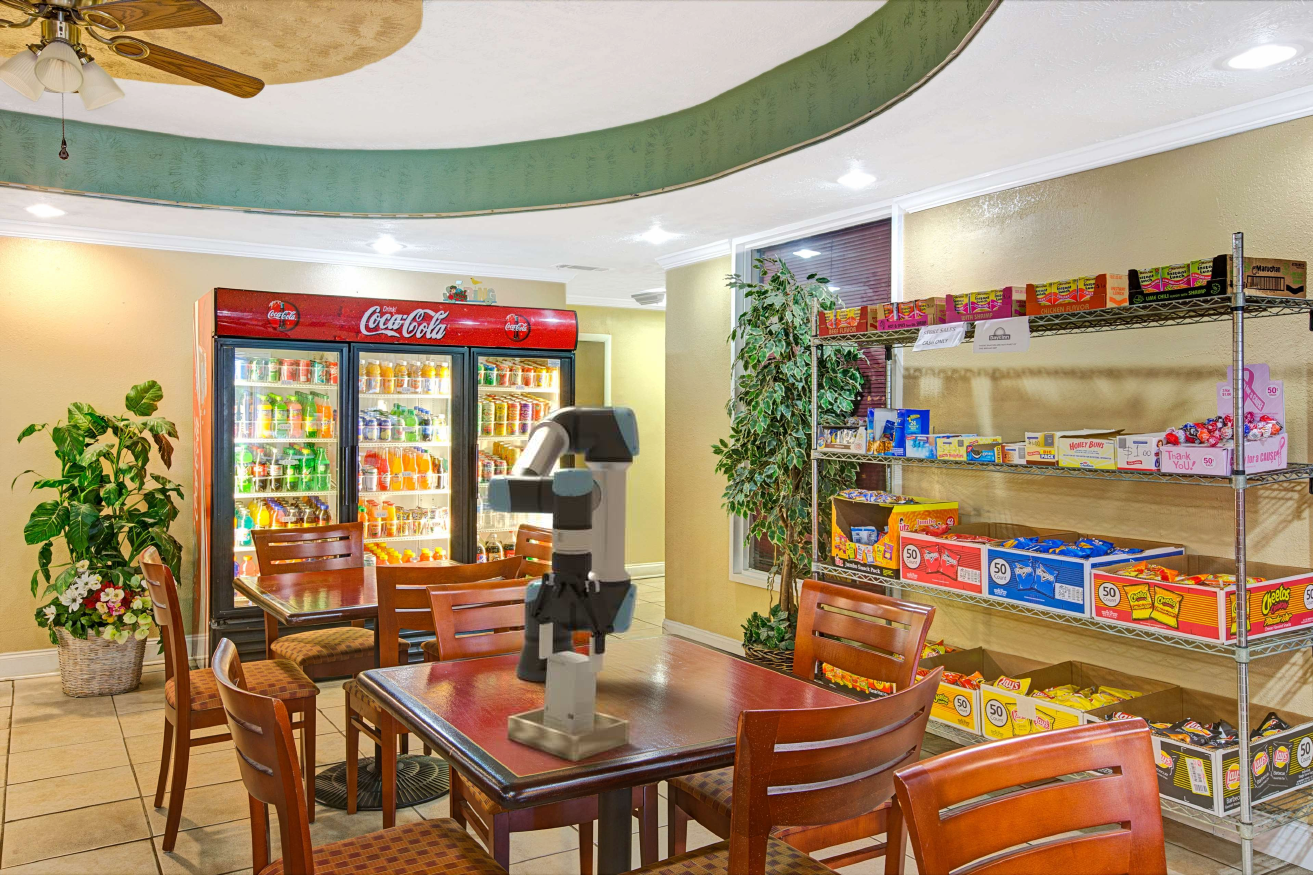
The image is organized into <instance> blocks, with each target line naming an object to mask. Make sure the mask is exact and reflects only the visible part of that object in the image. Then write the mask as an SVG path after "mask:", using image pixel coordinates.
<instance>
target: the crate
mask: <svg viewBox="0 0 1313 875" xmlns="http://www.w3.org/2000/svg"><path fill="white" fill-rule="evenodd" d="M543 720H544V706H542V707H539V708H536V709H532V710H531V709H530V710H528V711H523V712H521V713H517V714H512V715H510V716H508V717H507V739H509V740H512V741H514V742H517V743H520V744H523V745H525V746H529V747H531V748H535V749H537V750H539V751H543V752H545V753H548V754H552V755H555V756H558V757H560V758H562V759H565V760H568V761H571V762H573V763H574V762H577V761H580V760H583V759H586V758H590V757H592V756H595V755H597V754H601V753H604V752H607V751H610V750H612V749H615V748H618V747H621V746H624V745H627V744H630V720H626V719H623V718H619V717H616V716H613V715H611V714H610V715H609V714H606V713H603V712H599V711H596V710H595V713H594V730H592V731H589V732H586V733H583V734H580V735H576V736H573V735H570V734H567V733H564V732H561V731H558V730H555V729H552V728H549V727H546V726H543Z"/></svg>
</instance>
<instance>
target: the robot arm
mask: <svg viewBox="0 0 1313 875" xmlns="http://www.w3.org/2000/svg"><path fill="white" fill-rule="evenodd" d="M527 439H528V442H527V444H526V446H525V447H524V449H523V451H522V452H521V454H520V455H519V457H518V459H517V460H516V462H515V464H514V465H513V467H512V468H511V470H510V472H509V473H508V474H506V473H503V474H495V475H492V476H491V478H490V479H489V483H488V486H487V502H488V507H489V508H490V510H492V512H496V513H507V514H546V515H547V514H549V515H551V514H552V526H551V528H552V531H551V532H552V533H551V537H552V539H551V540H552V541H551V548H552V549H553V550H554V551H553V552H552V553H551V571H552V572H544V573H543V574H542V576H541V578H537V579H533V580H531V581H530V582H528V583H527V585H526V587H525V595H524V596H525V597H524V600H523V601H524V632H523V633H524V635H523V636H524V637H523V638H524V642H523V646H522V647H521V648H522V649H521V652H520V654H519V658H518V661H517V663H516V668H515V675H516V677H518V678H519V679H521V680H525V681H530V682H541V683H546V676H547V661H548V654H554V653H560V652H565V651H570V652H574V653H577V652H576V649H575V645H574V637H573V636H574V633H577V632H578V633H592V634H591V635H590V636H589V646H588V647H589V648H588V649H589V650H588V651H589V652H588V653H589V656H588V657H589V672H590V673H593V672H597V673H598V672H600V671H603V664H604V663H603V659H604V658H603V657H604V654H605V652H606V636H607V635H612V634H623V633H627V632H628V631H629V630H630V628H631V626H632V624H633V623H632V622H633V620H634V619H633V618H634V614H635V609H636V607H635V606H636V601H637V591H638V585H636V584H635V583H632V581H631V580H632V577H631V574H629V573H628V572H627V570H626V569H625V568H626V567H625V566H626V565H625V564H626V519H627V518H626V513H627V512H626V511H627V510H626V507H627V471H628V469H629V468H630V467H631V466H632V464H634V462H633V461H634V458H633V457H637V456H638V455H640V436H639V428H638V422H637V417H636V414H635V412H634V411H633V409H631V408H630V407H627V406H626V407H625V406H616V405H614V406H609V405H608V406H607V405H606V406H603V405H602V406H599V405H598V406H597V405H596V406H595V405H594V406H593V405H592V406H589V405H586V406H585V405H584V406H583V405H580V406H579V405H571V406H570V405H569V406H564V407H561V408H558V409H555V410H553V411H552V412H549V413H547V414H546V415H544V416H543V417H541V418H540V419H539V420H538V421H536V422H535V424H534V425H533V426H532V428H531V429H530V432H529V434H528V438H527ZM565 455H583V456H584V460H583V461H584V463H585V465H586V466H587V467H588V468H577V467H576V468H575V467H573V468H572V467H566V468H557V469H555V471H554V472H553V475H551V472H552V470H553V469H554V466H555V465H556V463H557V461H558V459H560V458H562V457H563V456H565Z"/></svg>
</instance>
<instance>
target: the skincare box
mask: <svg viewBox="0 0 1313 875" xmlns="http://www.w3.org/2000/svg"><path fill="white" fill-rule="evenodd" d="M597 675H598V671H597V672H593V673H590V672H589V656H588V655H585V654H582V653H577V652H576V653H574V652H570V651H565V652H560V653H554V654H548V661H547V676H546V682H545V693H544V706H543V707H544V720H543V726H546V727H549V728H552V729H555V730H558V731H561V732H564V733H567V734H570V735H573V736H576V735H580V734H583V733H586V732H589V731H592V730H594V713H595V711H596V693H597V678H598V676H597Z"/></svg>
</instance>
